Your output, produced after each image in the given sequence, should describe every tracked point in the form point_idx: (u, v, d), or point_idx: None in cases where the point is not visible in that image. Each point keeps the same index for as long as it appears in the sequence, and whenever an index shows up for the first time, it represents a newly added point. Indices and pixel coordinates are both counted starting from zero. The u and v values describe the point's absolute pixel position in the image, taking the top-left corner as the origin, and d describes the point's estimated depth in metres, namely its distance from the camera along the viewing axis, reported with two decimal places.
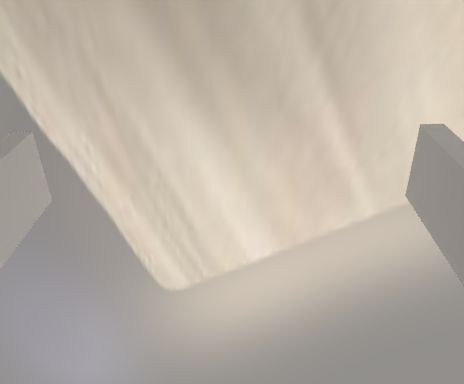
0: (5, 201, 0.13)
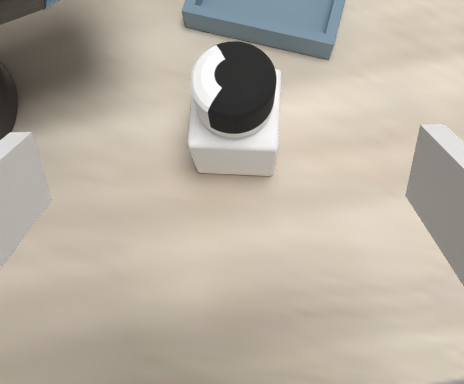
0: (5, 201, 0.13)
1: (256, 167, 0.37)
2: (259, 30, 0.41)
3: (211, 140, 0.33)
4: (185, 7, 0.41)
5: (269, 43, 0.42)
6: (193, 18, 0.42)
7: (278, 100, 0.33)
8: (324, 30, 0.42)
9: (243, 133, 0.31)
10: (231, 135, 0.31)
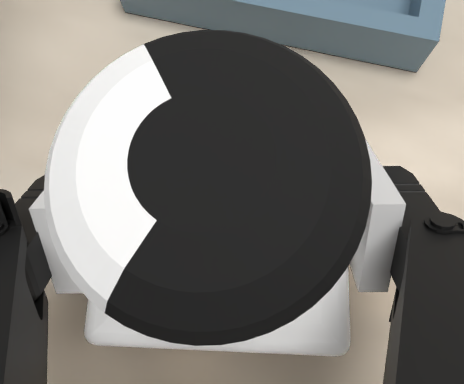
0: None
1: None
2: (274, 13, 0.19)
3: None
4: None
5: (293, 42, 0.21)
6: None
7: None
8: (405, 12, 0.21)
9: None
10: None
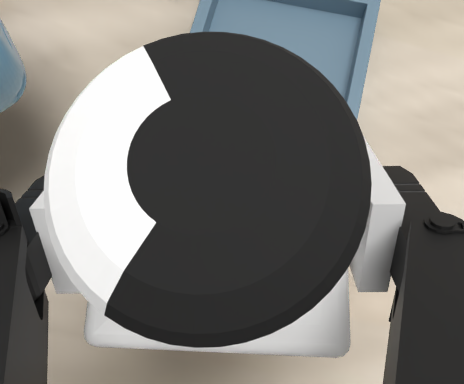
0: None
1: None
2: None
3: None
4: None
5: None
6: None
7: None
8: None
9: None
10: None
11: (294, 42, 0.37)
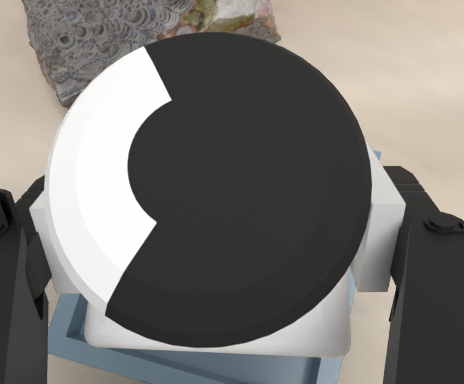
0: None
1: None
2: None
3: None
4: (48, 343, 0.22)
5: None
6: None
7: None
8: (309, 365, 0.23)
9: None
10: None
11: None
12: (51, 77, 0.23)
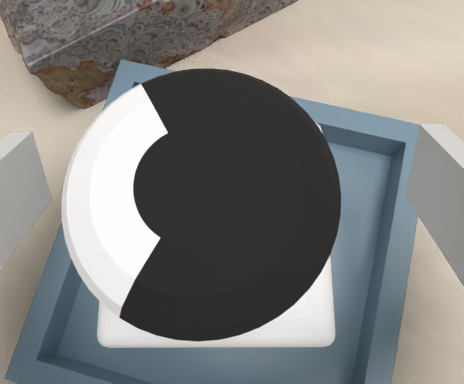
0: (5, 201, 0.13)
1: None
2: None
3: None
4: (14, 368, 0.17)
5: None
6: None
7: None
8: None
9: None
10: None
11: None
12: (16, 37, 0.19)
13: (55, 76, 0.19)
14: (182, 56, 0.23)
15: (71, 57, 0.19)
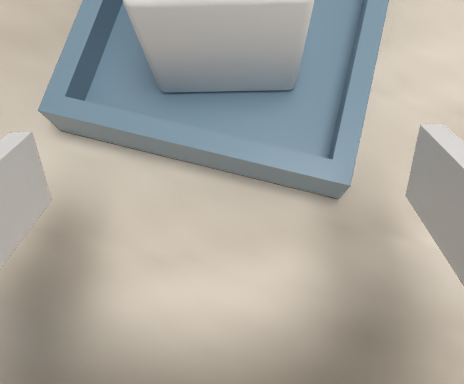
0: (5, 201, 0.13)
1: (266, 66, 0.19)
2: (196, 150, 0.20)
3: None
4: (46, 102, 0.20)
5: (220, 167, 0.21)
6: (66, 122, 0.21)
7: None
8: (329, 140, 0.21)
9: None
10: None
11: None
12: None
13: None
14: None
15: None
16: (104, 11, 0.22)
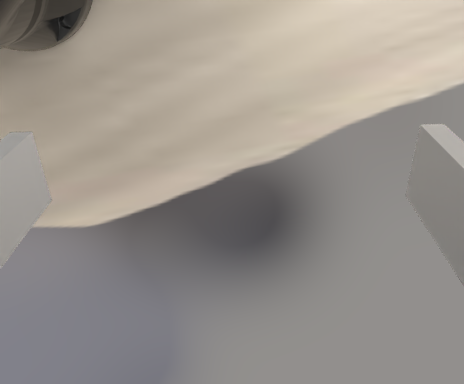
0: (5, 201, 0.13)
1: None
2: None
3: None
4: None
5: None
6: None
7: None
8: None
9: None
10: None
11: None
12: None
13: None
14: None
15: None
16: None
